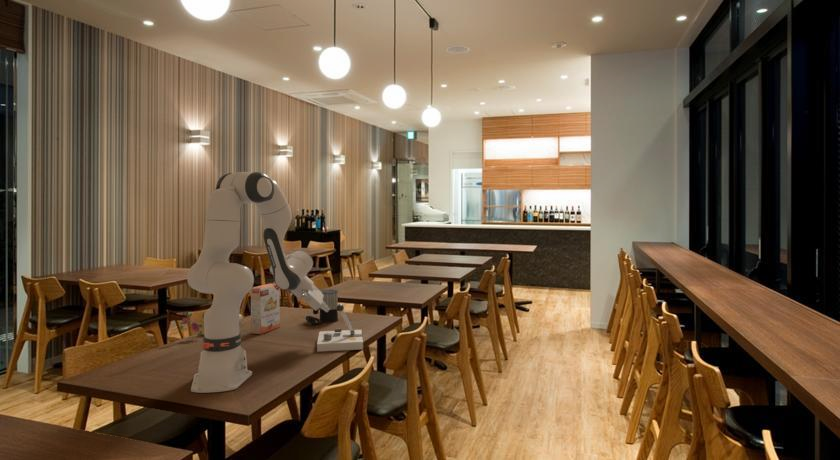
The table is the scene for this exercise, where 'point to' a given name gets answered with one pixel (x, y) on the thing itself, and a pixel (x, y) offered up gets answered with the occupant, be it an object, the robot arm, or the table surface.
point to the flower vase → (196, 327)
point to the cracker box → (265, 308)
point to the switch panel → (340, 341)
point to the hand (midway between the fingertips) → (328, 310)
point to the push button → (327, 336)
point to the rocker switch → (337, 330)
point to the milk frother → (331, 302)
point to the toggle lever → (345, 318)
